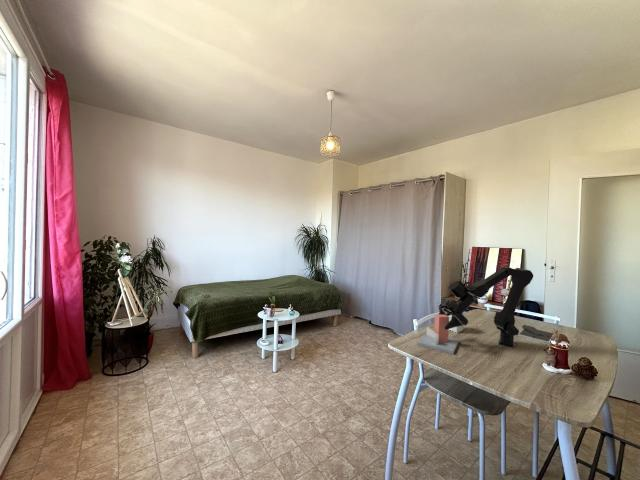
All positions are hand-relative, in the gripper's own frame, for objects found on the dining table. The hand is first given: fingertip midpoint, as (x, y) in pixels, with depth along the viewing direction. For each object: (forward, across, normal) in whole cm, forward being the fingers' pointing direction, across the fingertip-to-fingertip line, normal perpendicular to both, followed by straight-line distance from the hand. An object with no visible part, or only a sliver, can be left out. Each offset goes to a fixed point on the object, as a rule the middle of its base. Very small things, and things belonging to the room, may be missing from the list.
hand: (440, 325), depth 134 cm
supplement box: (-6, -19, +20) cm, 28 cm away
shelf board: (+7, 0, +6) cm, 9 cm away
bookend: (+8, 0, +3) cm, 8 cm away
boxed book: (+5, 0, +6) cm, 8 cm away
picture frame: (-35, -10, +50) cm, 62 cm away
